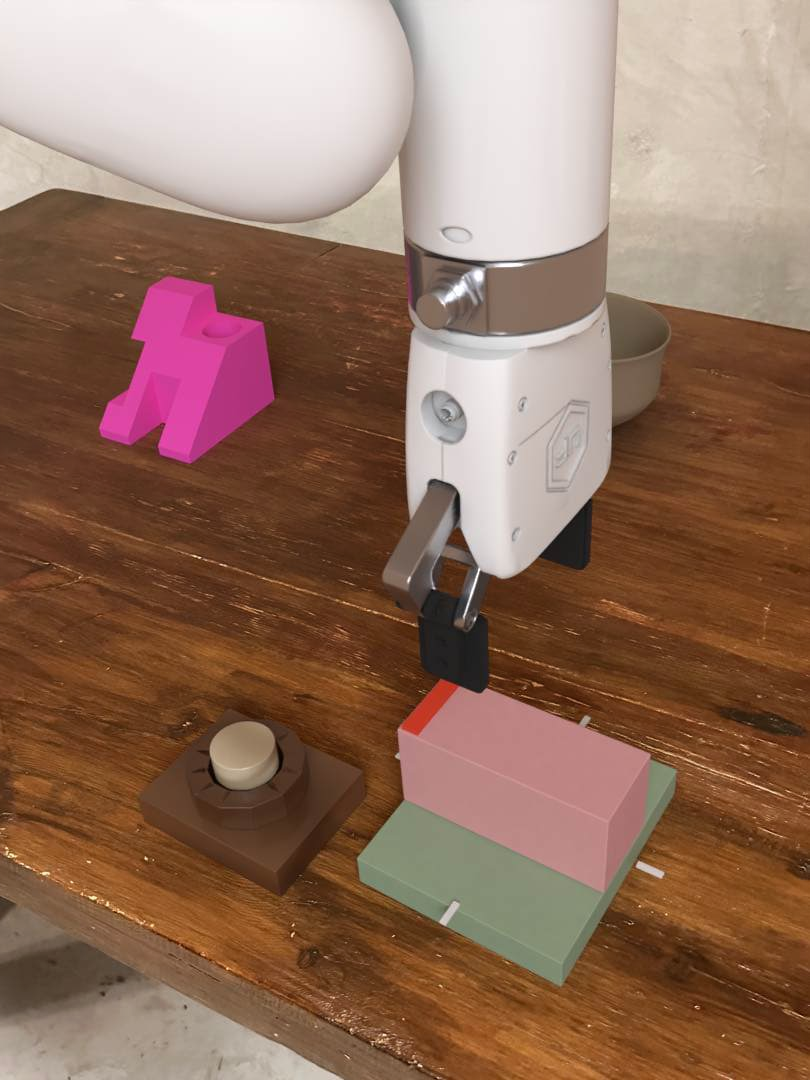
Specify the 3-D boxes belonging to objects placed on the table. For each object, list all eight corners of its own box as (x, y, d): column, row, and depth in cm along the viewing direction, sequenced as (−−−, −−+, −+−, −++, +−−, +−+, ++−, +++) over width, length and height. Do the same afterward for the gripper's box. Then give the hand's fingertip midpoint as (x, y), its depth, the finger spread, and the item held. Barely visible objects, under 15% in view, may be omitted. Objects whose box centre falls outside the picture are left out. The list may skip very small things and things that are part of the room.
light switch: (280, 898, 60) (270, 850, 57) (144, 821, 64) (129, 774, 62) (367, 796, 65) (361, 748, 62) (234, 732, 70) (224, 686, 67)
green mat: (590, 1027, 53) (592, 1001, 51) (315, 879, 60) (311, 854, 59) (717, 795, 63) (721, 768, 62) (469, 694, 71) (469, 669, 70)
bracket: (188, 377, 108) (168, 276, 101) (274, 399, 103) (258, 295, 97) (101, 436, 100) (73, 330, 93) (190, 463, 95) (167, 354, 89)
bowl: (661, 469, 90) (671, 357, 84) (503, 460, 92) (502, 350, 86) (664, 392, 100) (673, 286, 94) (521, 385, 102) (521, 282, 96)
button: (251, 801, 60) (246, 779, 59) (200, 775, 62) (195, 753, 61) (292, 757, 63) (288, 735, 62) (242, 733, 64) (238, 712, 63)
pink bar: (644, 824, 59) (651, 749, 56) (603, 894, 56) (608, 818, 53) (450, 741, 65) (446, 668, 62) (403, 799, 62) (396, 726, 58)
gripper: (474, 394, 35) (486, 768, 45) (689, 207, 46) (660, 541, 56) (285, 345, 38) (336, 702, 49) (527, 183, 50) (527, 501, 60)
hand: (509, 615), depth 53 cm, fingers open, 9 cm apart
